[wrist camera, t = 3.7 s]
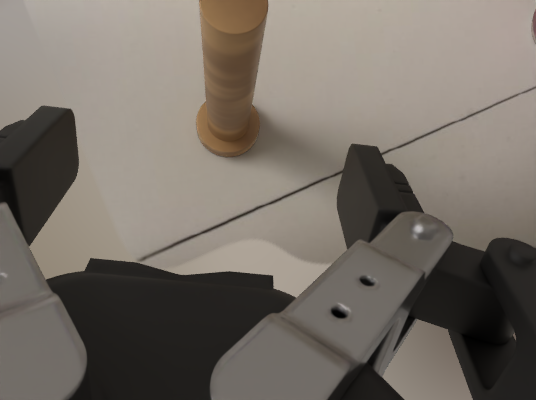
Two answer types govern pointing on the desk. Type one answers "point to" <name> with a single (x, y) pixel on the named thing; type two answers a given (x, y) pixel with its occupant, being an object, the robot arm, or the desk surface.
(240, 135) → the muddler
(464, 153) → the desk surface
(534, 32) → the beverage can
